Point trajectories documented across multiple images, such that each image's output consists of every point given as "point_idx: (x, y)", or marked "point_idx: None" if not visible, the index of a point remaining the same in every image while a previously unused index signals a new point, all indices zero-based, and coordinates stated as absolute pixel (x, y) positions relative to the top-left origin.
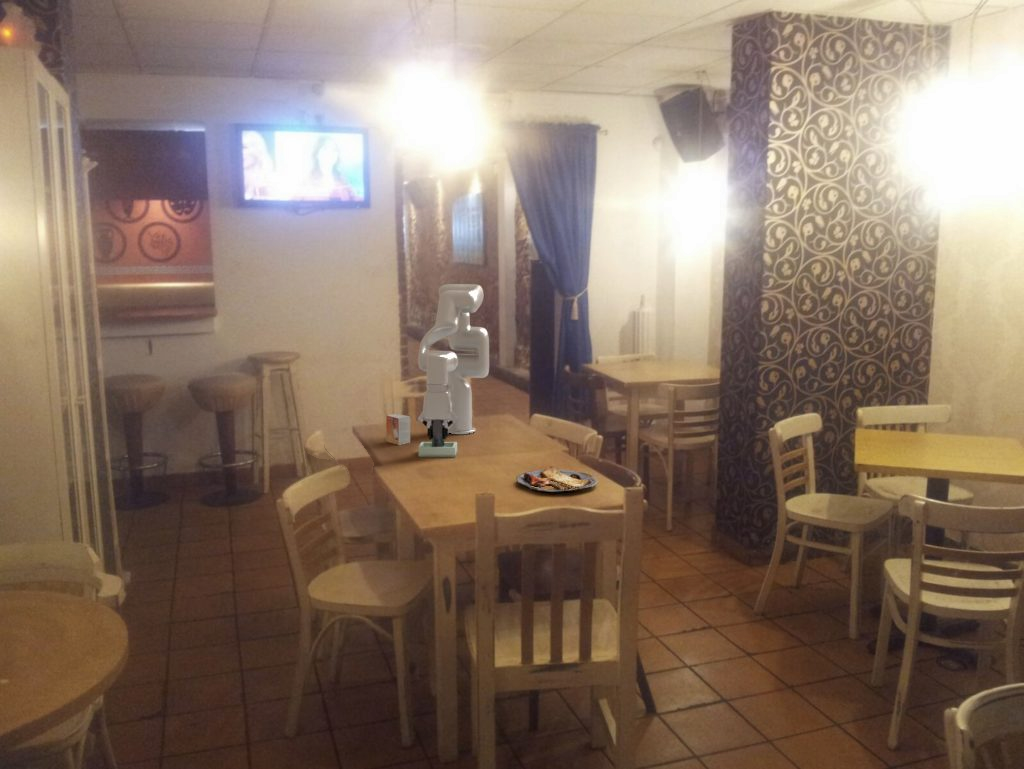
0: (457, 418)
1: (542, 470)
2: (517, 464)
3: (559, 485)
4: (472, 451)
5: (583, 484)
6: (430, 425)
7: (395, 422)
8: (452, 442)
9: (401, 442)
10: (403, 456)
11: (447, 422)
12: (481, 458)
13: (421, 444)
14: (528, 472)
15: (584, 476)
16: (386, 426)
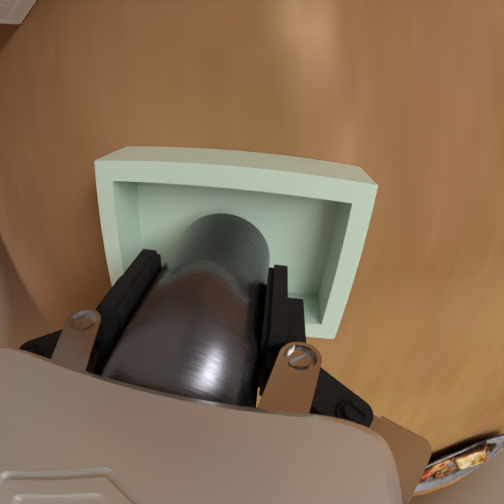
0: (417, 463)
1: (469, 447)
2: (486, 382)
3: (442, 473)
4: (445, 180)
5: (471, 465)
6: (107, 355)
7: None
8: (340, 195)
9: (21, 11)
10: (73, 255)
11: (302, 400)
12: (435, 325)
13: (111, 239)
14: (437, 461)
15: (499, 445)
16: None
